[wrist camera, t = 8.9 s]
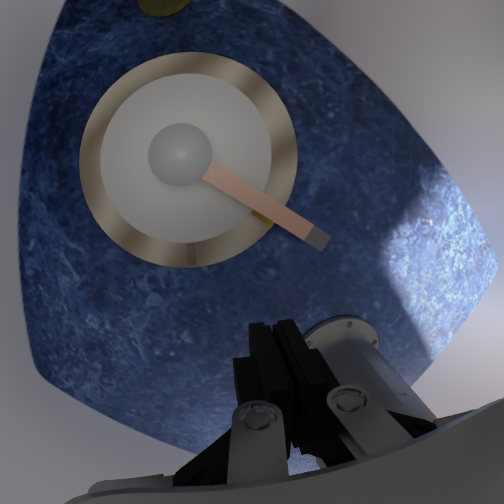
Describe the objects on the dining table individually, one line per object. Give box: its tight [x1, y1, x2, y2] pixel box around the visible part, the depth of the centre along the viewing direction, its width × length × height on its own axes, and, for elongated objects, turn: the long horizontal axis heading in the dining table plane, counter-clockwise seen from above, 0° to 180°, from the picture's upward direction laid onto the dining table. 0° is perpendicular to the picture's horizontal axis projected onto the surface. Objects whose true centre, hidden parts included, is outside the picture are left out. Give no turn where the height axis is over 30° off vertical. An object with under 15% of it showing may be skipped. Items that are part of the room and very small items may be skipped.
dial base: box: [79, 52, 297, 268], centre depth 28 cm, size 22×22×2 cm
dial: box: [100, 73, 331, 252], centre depth 26 cm, size 22×16×6 cm
